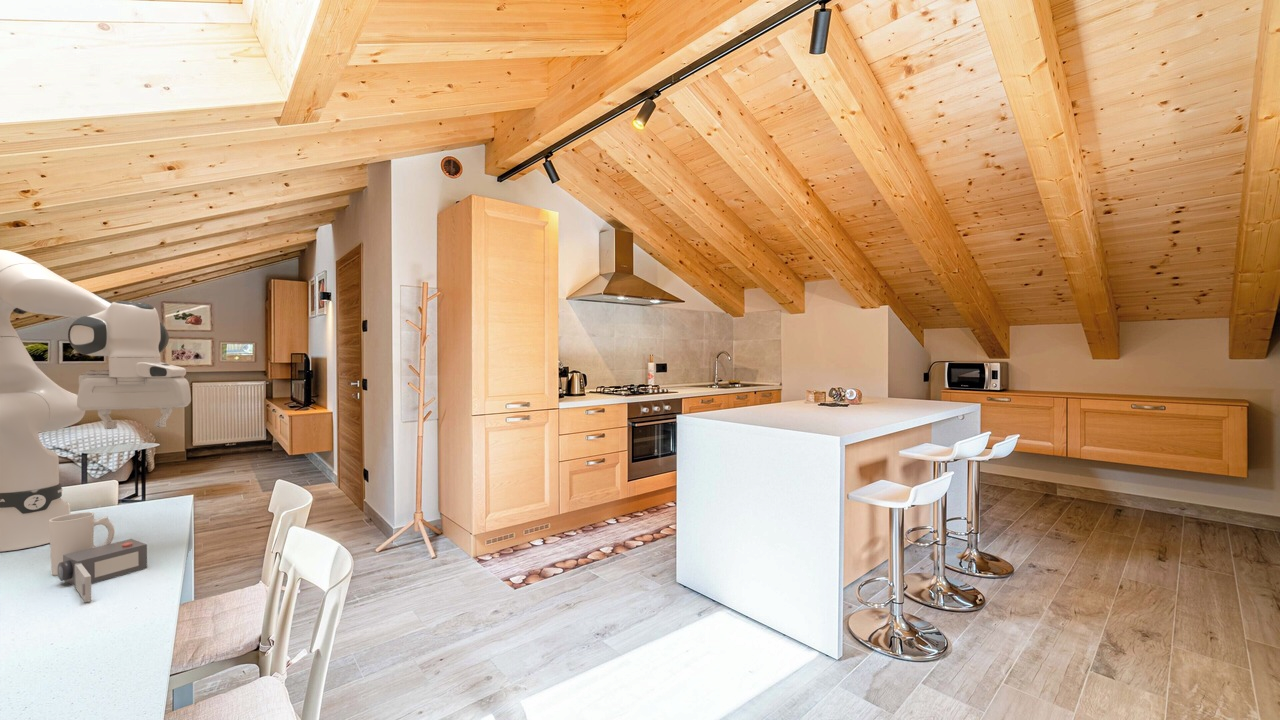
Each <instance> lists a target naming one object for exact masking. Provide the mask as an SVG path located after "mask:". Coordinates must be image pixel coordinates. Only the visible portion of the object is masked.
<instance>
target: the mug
mask: <svg viewBox="0 0 1280 720" xmlns="http://www.w3.org/2000/svg"><path fill="white" fill-rule="evenodd" d="M94 517H95V513H94V512H89V511H88V512H75V513H71V514H68V515H63V516H59V517H55V518H52V519H50V520H49V521H50V543H49V544H50V545H49V547H50V567H51V575H52V576H58V564H59V563H60V562H63V555H65V554H69V553H73V552H78V551H82V550H86V549H90V548H94V547H95V546H94V531H95V530H94V529H95V527H96V526H100V525H102V526H104V527H105V528H106V530H107V532H108V533H107V538H106V540H105V542H104V543H103V544H102V545H101V546H103V545H107V544H111V543H113V540H114V539H115V538H114V537H115V532H116V531H115V526H114V525H113V524H112V521H111V520H110V519H109V517H108V516H104V517H100V518H99V519H95V518H94ZM58 577H59V576H58Z"/></svg>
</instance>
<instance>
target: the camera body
mask: <svg viewBox="0 0 1280 720" xmlns="http://www.w3.org/2000/svg"><path fill="white" fill-rule="evenodd" d="M102 545H103V544H102ZM102 545H99V546H94V548H90V549H86V550H82V551H78V552H73V553H69V554H65V555H63V562H60V563H59V564H58V580H60V581H62V582H63V581H64V582H66V583H68V584H70V585H72V586H74V587H75V564H77V563H82V565H83V566H84V568H85V569H86V570H87V572H88V573H89V574H90V575H91V585H92V584H95V583H96V584H97V583H99V582H102V581H103V582H104V581H105V580H106V581H107V580H108V579H113V578H116V577H120V576H123V575H124V576H125V575H127V574H131V573H134V572H139V571H142V570H145V569H147V568H148V544H147V543H144V542H142V541H139V540H136V539H133V538H129V539H125V540H120V541H116V542H111V544H107V545H103V546H102Z"/></svg>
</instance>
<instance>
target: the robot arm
mask: <svg viewBox="0 0 1280 720" xmlns="http://www.w3.org/2000/svg"><path fill="white" fill-rule="evenodd" d="M13 312H14V313H16V314H19V315H24V314H27V313H31V314H37V315H46V316H57V317H67V318H74V319H75V320H74V321H73V322H72V323H71V325H70V327H69V329H68V330H67V331H68V332H67V337H68V343H69V344H70V345H71V347H72V349H74V350H75V351H76V352H77V353H79V354H81V355H85V356H90V357H92V356H93V357H108V369H101V370H100V369H99V370H95V369H94V370H93V369H92V370H91V369H90V370H89V369H88V370H86V372H83V373H81V374H80V375H79V376H78V393H73V392H71V391H69V390H66V389H65V388H63V387H61V386H60V385H59V384H57V383H56V382H55V381H53V380H52V379H51V378H50V377H49V376H47V375H46V374H45V373H44V371H42V370H41V369H40V368H39V367H38V366H37V364H36V363H35V361H34V360H33V359H32V357H31V355H30V354H29V351H28V350H27V348H26V347H25V345H24V343H23V341H22V339H21V337H20V336H19V334H18V332H17V331H16V329H15V328H14V326H13V325H12V322H11V314H12V313H13ZM169 340H170V336H169V332H168V330H167V328H166V327H165V326H164V324H162V322H161V321H160V317H159V313H158V310H157V309H156V307H155V306H153V305H152V304H148V303H144V302H136V301H129V300H128V301H127V300H117V301H110V300H109V299H107V298H106V297H103V296H101V295H99V294H96V293H94V292H93V291H90V290H88V289H86V288H84V287H82V286H80V285H77V284H75V283H74V282H71V280H70V281H69V280H68V279H66V278H64V277H62V275H61V276H60V275H59V274H57V273H56V272H54V271H52V270H50V269H49V268H47V267H46V266H44V265H42V264H41V263H39V262H37V261H35V260H33V259H31V258H30V257H27V256H25V255H22V254H20V253H18V252H14V251H13V250H12V251H11V250H7V249H0V552H7V551H8V552H9V551H18V550H22V549H29V548H33V547H38V546H43V545H47V544H50V521H49V520H50V519H52V518H55V517H59V516H63V515H68V514H72V513H71V504H70V503H69V502H68V501H65V500H63V499H62V495H63V494H62V493H63V486H62V483H60V459H59V455H58V453H57V452H55V451H54V450H52V449H48V448H46V446H44V444H43V443H42V441H41V439H40V437H39V436H40V435H39V433H45V432H53V431H58V430H62V429H64V428H67V427H70V426H73V425H75V424H78V423H79V422H80V421H81V420H82V419H83V418H84V416H85V414H86V411H97V416H98V417H99V418H100V419H101V421H102V422H103V423H104V424H103V427H104V430H116V429H117V428H118V425H117V424H118V421H117V420H113V419H112V418H111V416H110V415H111V414H112V410H141V409H143V410H145V409H146V410H147V409H159V411H160V414H162V415H161V416H160V417H159V418H158V419H155V420H154V427H155V428H166V427H167V420H168V419H169V417H170V416H171V414H172V413H173V409H178V408H186V407H188V406H190V404H191V402H192V395H191V394H192V393H191V387H190V382H189V381H188V379H187V378H185V376H186V375H187V370H186V368H185V367H181V366H178V365H173V364H169V363H167V362H162V360H161V359H162V358H161V357H162V356H161V353H162V352H163V351H164V350H165V349H166V347H167V345H168V344H169Z"/></svg>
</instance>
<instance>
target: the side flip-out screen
mask: <svg viewBox="0 0 1280 720" xmlns="http://www.w3.org/2000/svg"><path fill="white" fill-rule="evenodd" d="M74 589H76V591H77V592H78V593H79V595H80V596H81V598H82V600H83V601H84V603H88V602H91V601H92V584H91V575H90V574H89V573H88V572H87V570H86V569H85V568H84V566H83V565H82V563H77V564H75V586H74Z"/></svg>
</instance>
